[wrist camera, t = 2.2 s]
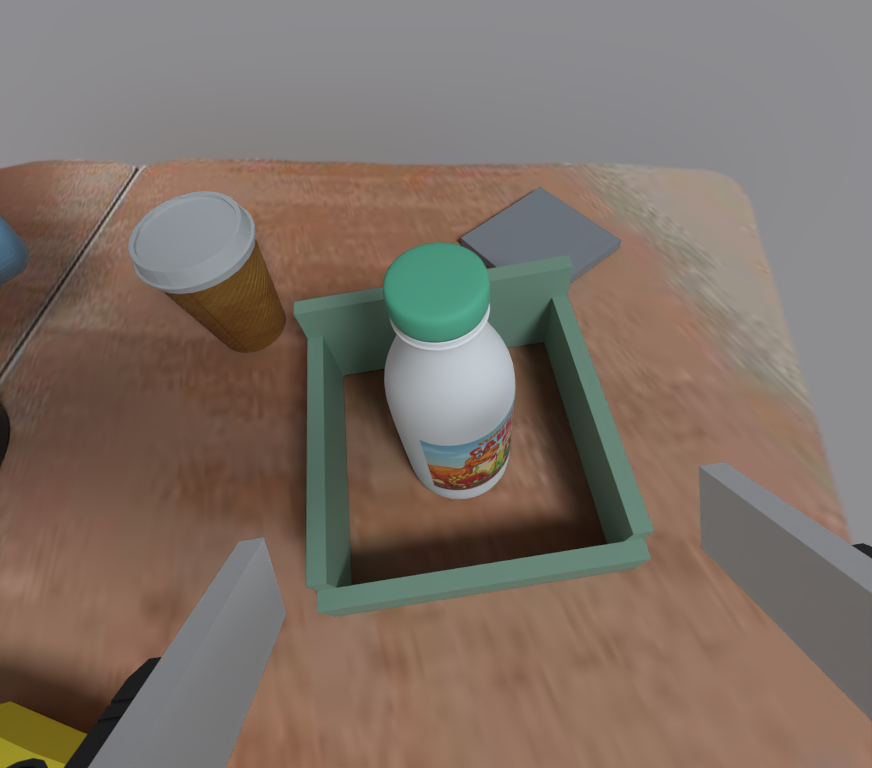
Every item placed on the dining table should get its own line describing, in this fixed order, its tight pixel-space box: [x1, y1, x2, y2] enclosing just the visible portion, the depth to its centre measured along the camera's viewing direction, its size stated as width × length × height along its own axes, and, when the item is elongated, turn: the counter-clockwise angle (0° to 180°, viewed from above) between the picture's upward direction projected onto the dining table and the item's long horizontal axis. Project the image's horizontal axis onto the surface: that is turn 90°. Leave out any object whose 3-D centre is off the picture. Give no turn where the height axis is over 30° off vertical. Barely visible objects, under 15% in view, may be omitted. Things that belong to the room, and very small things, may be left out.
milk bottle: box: [383, 242, 515, 499], centre depth 28 cm, size 8×8×20 cm
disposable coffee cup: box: [128, 191, 286, 352], centre depth 40 cm, size 10×10×12 cm
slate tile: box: [461, 187, 622, 283], centre depth 46 cm, size 11×11×1 cm
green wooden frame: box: [294, 255, 654, 617], centre depth 33 cm, size 20×20×9 cm
